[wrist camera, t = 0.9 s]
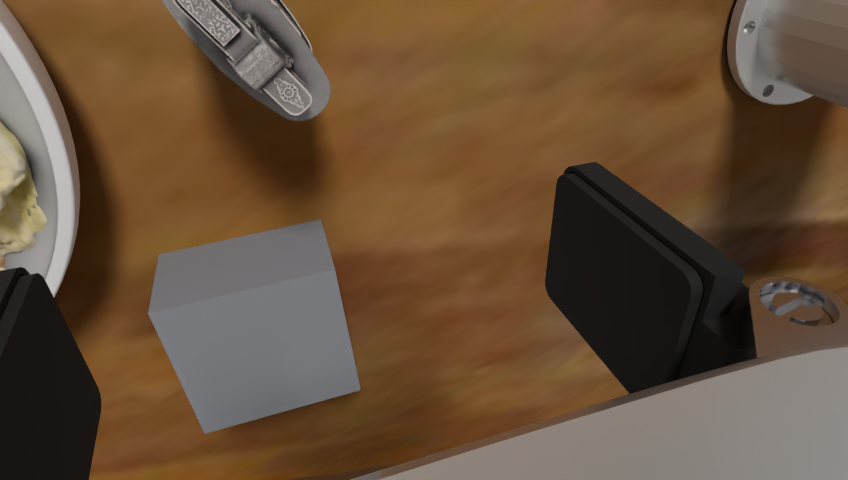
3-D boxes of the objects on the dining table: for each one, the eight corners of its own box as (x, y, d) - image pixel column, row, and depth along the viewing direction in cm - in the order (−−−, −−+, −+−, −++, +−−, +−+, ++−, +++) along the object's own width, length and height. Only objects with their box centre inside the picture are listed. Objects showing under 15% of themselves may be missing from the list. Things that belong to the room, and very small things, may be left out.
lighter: (324, 45, 31) (359, 105, 23) (280, 87, 31) (298, 161, 23) (204, -88, 26) (194, -71, 18) (154, -36, 27) (123, 2, 19)
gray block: (320, 217, 37) (334, 269, 32) (345, 331, 42) (360, 390, 37) (159, 252, 35) (148, 313, 30) (207, 366, 40) (204, 433, 35)
